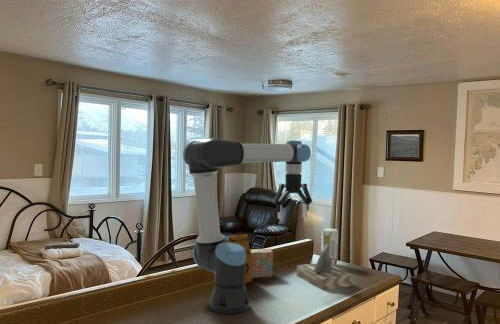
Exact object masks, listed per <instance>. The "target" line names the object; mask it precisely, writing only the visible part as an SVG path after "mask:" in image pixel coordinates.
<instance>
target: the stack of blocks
mask: <svg viewBox="0 0 500 324" xmlns="http://www.w3.org/2000/svg"><path fill="white" fill-rule="evenodd" d="M250 250H251V254H252V259H253V261H252V279H255V278H258V277H260V278H272V277H273V273H274V271H273V269H274V267H273V266H274V252H273V250H271V249H270V248H257V249H253V248H252V249H250Z"/></svg>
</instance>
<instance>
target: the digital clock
mask: <svg viewBox="0 0 500 324" xmlns="http://www.w3.org/2000/svg"><path fill="white" fill-rule="evenodd" d="M329 248H330V246H329V245H328V244H326V245H325V246H324V248H323V250H322V252H321V251H320V255H319V257H318V260H317V261H316V263H317V264H316V266H315V269H314V271H315V272H316V273H319V272H325V273H330V271H331V268H332V259H331V258H330V257H329V255H328V250H329Z"/></svg>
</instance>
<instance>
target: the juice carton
mask: <svg viewBox="0 0 500 324" xmlns="http://www.w3.org/2000/svg"><path fill="white" fill-rule="evenodd" d="M320 237H321V239H320V240H321V244H320V245H321V246H320V253H321V252H322V250H323V248H324V246H325V245H326V244H328V245H329V246H330V248H329V250H328V255H329V257H330V258H331V259H332V266H333V267H335V265H337V264H338V255H339V253H338V252H339V230H338V229H337V228H329V227H327V228H325V229H322V230H321V236H320Z"/></svg>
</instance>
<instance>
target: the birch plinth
mask: <svg viewBox="0 0 500 324" xmlns="http://www.w3.org/2000/svg"><path fill="white" fill-rule="evenodd" d="M316 264H317V262H316V263H308V264H299V265H298V264H297V265H296V276H297V277H299V278H300V279H302V280H304V281H306V283H307V282H308V283H309V284H311V285H312V286H314V287H316V288H318V289H320V290H322V291H327V290H332V289H333V290H334V289H341V288H348V287H352V286H353V274H352V273H349V272H348V271H347V272H346V271H345V270H343V269H340V268H338V267H336V266H332V268H331V271H330V273H325V272H319V273H316V272H315V271H314V269H315V266H316Z"/></svg>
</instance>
